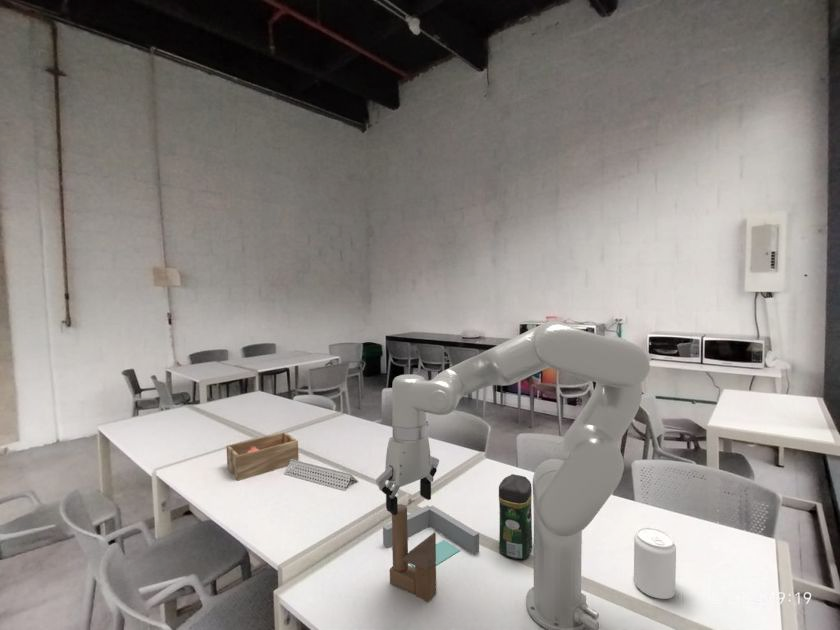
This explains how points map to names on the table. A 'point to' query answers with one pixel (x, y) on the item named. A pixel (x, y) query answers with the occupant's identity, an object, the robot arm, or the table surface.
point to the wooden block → (412, 560)
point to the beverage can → (654, 562)
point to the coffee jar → (515, 516)
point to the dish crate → (261, 455)
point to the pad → (443, 551)
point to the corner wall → (437, 528)
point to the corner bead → (321, 471)
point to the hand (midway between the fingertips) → (409, 504)
